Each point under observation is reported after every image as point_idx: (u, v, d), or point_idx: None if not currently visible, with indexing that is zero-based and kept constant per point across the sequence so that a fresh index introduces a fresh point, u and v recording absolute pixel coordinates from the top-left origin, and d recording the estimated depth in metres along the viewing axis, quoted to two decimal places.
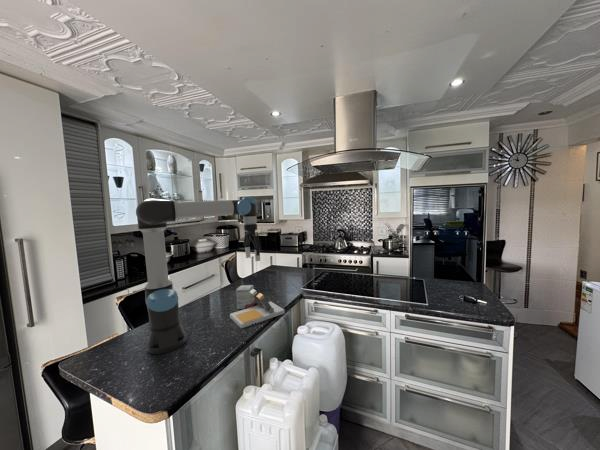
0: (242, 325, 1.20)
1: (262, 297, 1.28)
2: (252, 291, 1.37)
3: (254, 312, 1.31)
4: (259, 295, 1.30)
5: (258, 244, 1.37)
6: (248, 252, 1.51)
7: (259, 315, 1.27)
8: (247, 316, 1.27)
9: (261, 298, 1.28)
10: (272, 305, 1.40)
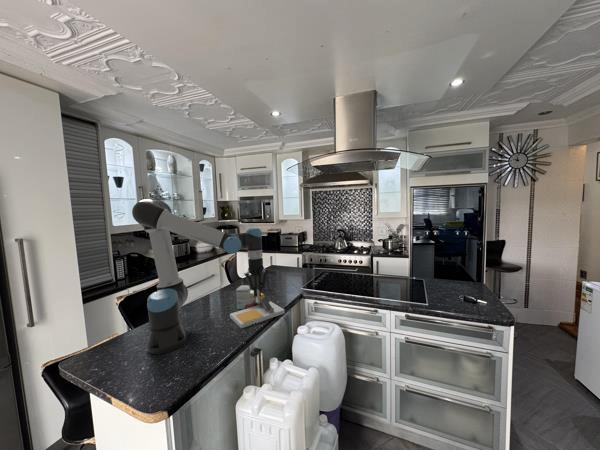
0: (242, 325, 1.20)
1: (262, 297, 1.28)
2: (252, 291, 1.37)
3: (254, 312, 1.31)
4: None
5: (249, 286, 1.26)
6: None
7: (259, 315, 1.27)
8: (247, 316, 1.27)
9: (261, 298, 1.28)
10: (272, 305, 1.40)
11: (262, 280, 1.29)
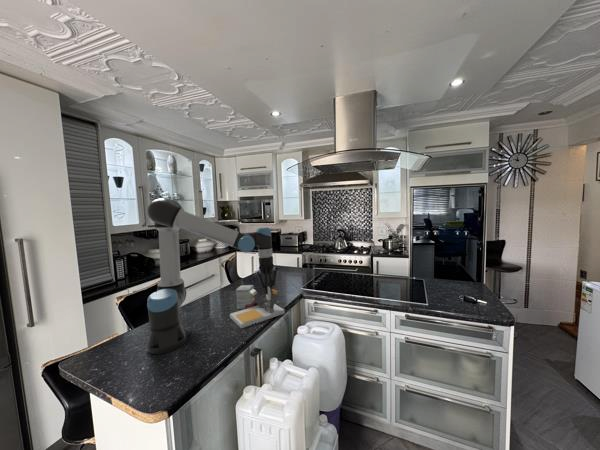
0: (242, 325, 1.20)
1: (275, 293, 1.33)
2: (252, 291, 1.37)
3: (254, 312, 1.31)
4: (273, 290, 1.34)
5: (260, 283, 1.30)
6: None
7: (259, 315, 1.27)
8: (247, 316, 1.27)
9: (274, 292, 1.32)
10: None
11: (272, 278, 1.33)
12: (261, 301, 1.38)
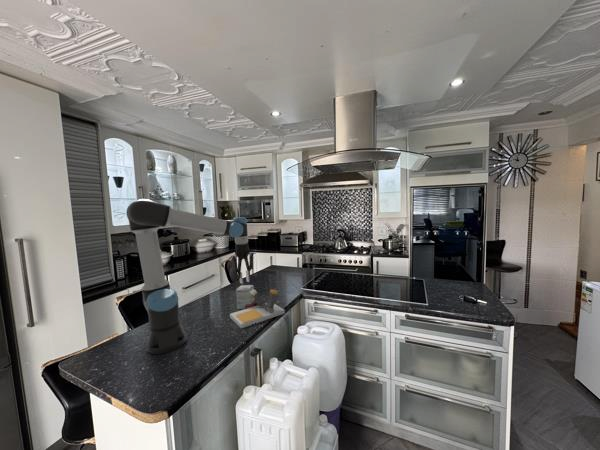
0: (242, 325, 1.20)
1: (275, 293, 1.33)
2: (252, 291, 1.37)
3: (254, 312, 1.31)
4: (273, 290, 1.34)
5: (234, 268, 1.42)
6: (247, 276, 1.46)
7: (259, 315, 1.27)
8: (247, 316, 1.27)
9: (274, 292, 1.32)
10: None
11: (250, 262, 1.47)
12: (261, 301, 1.38)
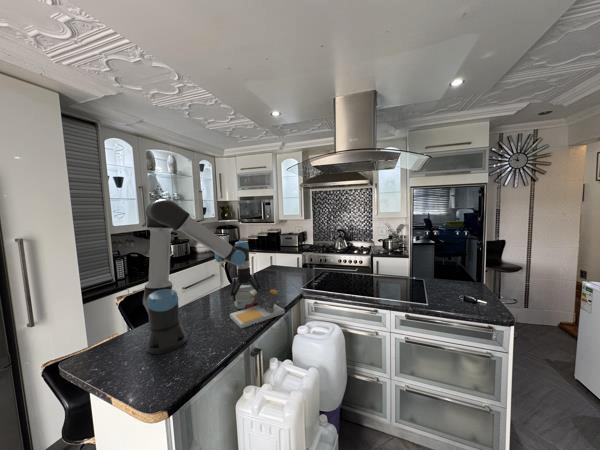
0: (242, 325, 1.20)
1: (275, 293, 1.33)
2: (252, 291, 1.37)
3: (254, 312, 1.31)
4: (273, 290, 1.34)
5: (230, 290, 1.41)
6: None
7: (259, 315, 1.27)
8: (247, 316, 1.27)
9: (274, 292, 1.32)
10: None
11: (256, 283, 1.49)
12: (261, 301, 1.38)
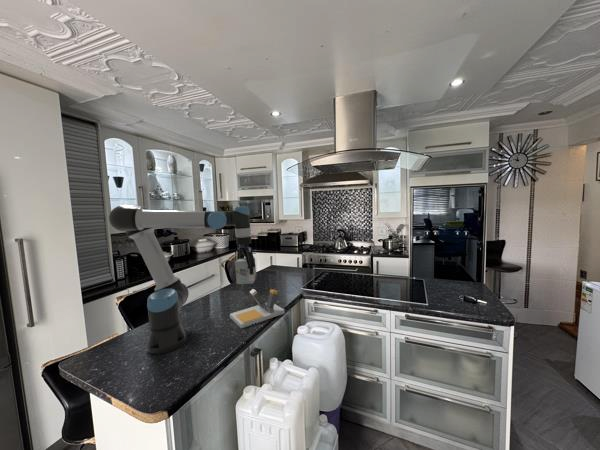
0: (242, 325, 1.20)
1: (275, 293, 1.33)
2: (252, 291, 1.37)
3: (254, 312, 1.31)
4: (273, 290, 1.34)
5: (252, 262, 1.19)
6: None
7: (259, 315, 1.27)
8: (247, 316, 1.27)
9: (274, 292, 1.32)
10: None
11: None
12: (261, 301, 1.38)
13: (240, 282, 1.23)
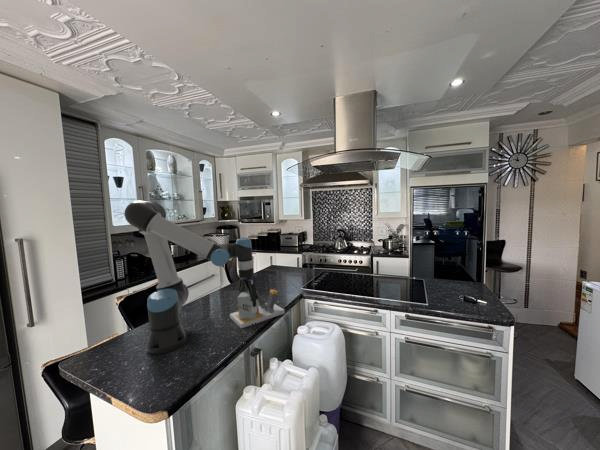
0: (242, 325, 1.20)
1: (275, 293, 1.33)
2: None
3: None
4: (273, 290, 1.34)
5: (254, 294, 1.19)
6: None
7: (259, 315, 1.27)
8: None
9: (274, 292, 1.32)
10: None
11: None
12: (261, 301, 1.38)
13: (243, 317, 1.24)
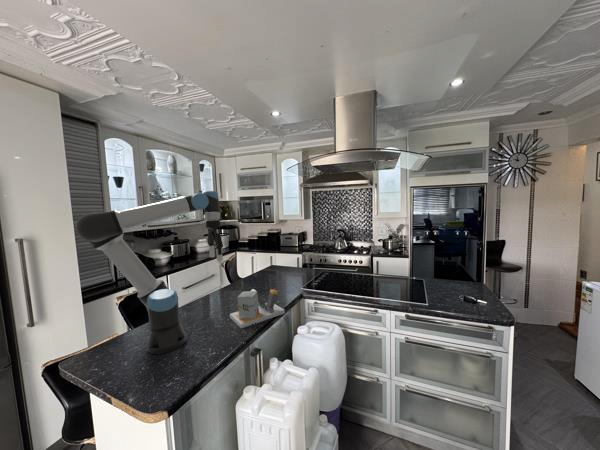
0: (242, 325, 1.20)
1: (275, 293, 1.33)
2: None
3: None
4: (273, 290, 1.34)
5: (219, 242, 1.25)
6: (212, 251, 1.39)
7: (259, 315, 1.27)
8: None
9: (274, 292, 1.32)
10: None
11: None
12: (261, 301, 1.38)
13: (243, 317, 1.24)
